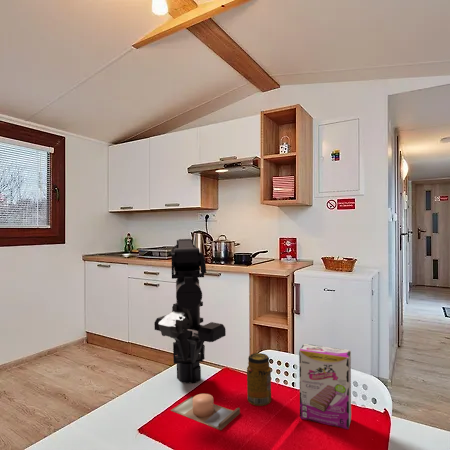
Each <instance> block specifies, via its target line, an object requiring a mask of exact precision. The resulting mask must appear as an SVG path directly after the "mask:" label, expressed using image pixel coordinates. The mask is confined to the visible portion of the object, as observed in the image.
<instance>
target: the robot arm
mask: <svg viewBox="0 0 450 450" xmlns="http://www.w3.org/2000/svg"><path fill="white" fill-rule="evenodd" d="M170 252H171V279H172V280H173V279H176V280H175V299H176V302H175V303H173V304H172V309H171V312H170V313H168V314H166V315H162V316H159V317H157V318H156V319H155V321H154V331H157V332H158V331H159V332H160V334H161V336H162V337H168V338H171V339H174V340H175V341H174V342H173V343H172V351H173V356H172V357H173V364H174V365H175V364H176V379H178V381H179V383H182V384H183V383H184V384H197V383H198V382H200V381H202V369H201V368H202V367H201V363H203V361H204V360H205V359H206V358H205V350H206V349H205V344H204V343H205V342H207V343H213V342H216V341H218V340H220V339H221V338H224V337H225V336H226V332H227V331H226V326H225V325H224V324H223V323H218V322H213V321H211V322H208V323H206V324H202V323H204V317H201V307H202V306H204V302H203V301H202V299H203V291H202V289H201V287H200V279H199V278H205V274H206V273H207V265H206V257H205V256H204V253H203V252H201V251H200V248H199V247H197V246H196V245H195V244H194V239H192V238H182V239H181V238H180V239H177V240H176V245H174V247H173V248H172V249H171V251H170ZM200 362H201V363H200Z"/></svg>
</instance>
